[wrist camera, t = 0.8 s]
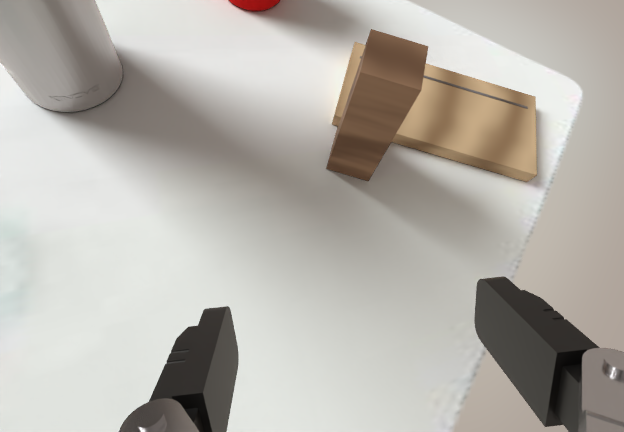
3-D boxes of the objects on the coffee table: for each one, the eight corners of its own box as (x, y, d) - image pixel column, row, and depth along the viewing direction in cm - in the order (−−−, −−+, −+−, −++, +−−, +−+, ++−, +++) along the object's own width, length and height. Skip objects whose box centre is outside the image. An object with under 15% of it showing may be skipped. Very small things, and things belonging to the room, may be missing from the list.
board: (331, 124, 40) (334, 114, 38) (351, 52, 44) (355, 41, 43) (527, 182, 40) (537, 174, 39) (526, 105, 45) (535, 96, 44)
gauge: (368, 181, 38) (421, 90, 26) (326, 168, 37) (360, 72, 26) (390, 71, 44) (441, -42, 32) (355, 60, 44) (393, -57, 32)
